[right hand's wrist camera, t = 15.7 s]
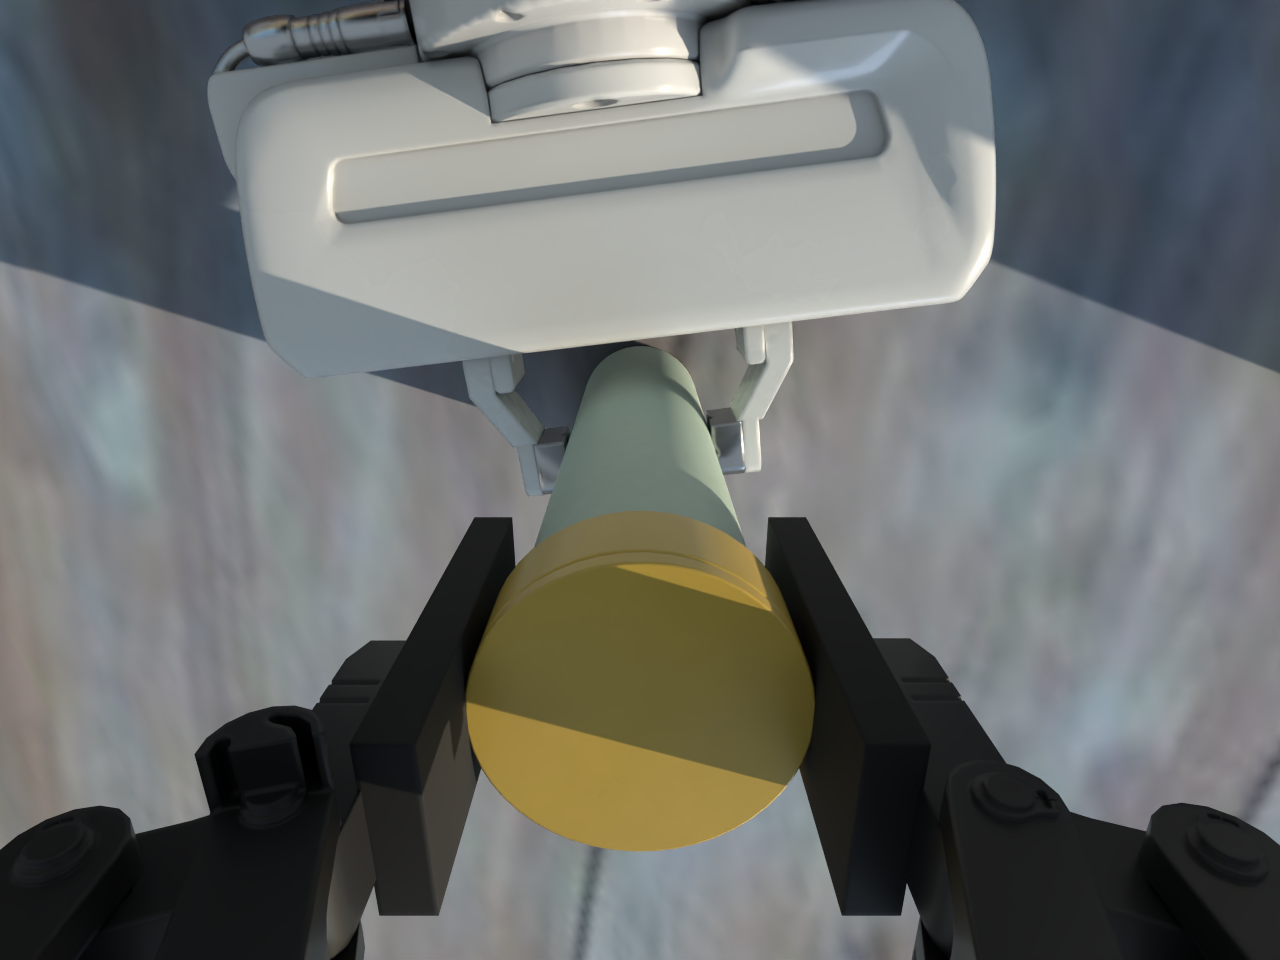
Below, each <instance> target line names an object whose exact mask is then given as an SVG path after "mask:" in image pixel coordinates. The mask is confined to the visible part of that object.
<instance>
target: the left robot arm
mask: <svg viewBox="0 0 1280 960" xmlns="http://www.w3.org/2000/svg"><path fill="white" fill-rule="evenodd" d="M242 37H243V40H240V41H238V42H237V43H235V44H234V45H232V46H231V47H229V48H228V49H227V50H226V51H225V52H224V53H223V55H222V56H221V57H220V59H219V60H218V62H217V64H216V66H215V69H214V72H213V75H212V76H211V77H210V79H209V81H208V87H207V97H208V104H209V109H210V113H211V116H212V119H213V123H214V126H215V130H216V133H217V137H218V140H219V143H220V147H221V150H222V154H223V157H224V160H225V162H226V165H227V167H228V168H229V170H230V172H231V174H232V175H233V177H234V178H235V180H236V184H237V193H238V201H239V209H240V216H241V224H242V231H243V238H244V244H245V250H246V256H247V261H248V267H249V273H250V278H251V282H252V287H253V292H254V297H255V301H256V305H257V310H258V314H259V318H260V322H261V326H262V329H263V333H264V336H265V339H266V341H267V343H268V346H269V347H270V348H271V350H272V351H273V352H274V353H275V354H276V355H278V356H279V357H280V358H281V359H282V360H283V361H284V362H286V363H287V364H288V365H289V366H290V367H291V368H292V369H294V370H295V371H296V372H297V373H299V374H300V375H301V376H303V377H306V378H320V377H329V376H337V375H346V374H354V373H363V372H371V371H379V370H388V369H396V368H405V367H413V366H421V365H430V364H438V363H447V362H455V361H462V365H463V370H464V374H465V379H466V384H467V389H468V394H469V398H470V399H471V400H472V402H473V403H474V404H475V405H476V406H477V407H478V408H479V409H480V411H481V412H482V413H483V414H484V415H485V416H486V417H487V419H488V420H489V421H490V422H491V423H492V424H493V425H494V426H495V428H496V429H497V430H498V431H499V432H500V433H501V434H502V436H503V437H504V438H505V439H506V440H507V441H508V442H509V443H510V445H511V446H512V447H517V450H518V456H519V461H520V466H521V471H522V476H523V482H524V487H525V491H526V493H527V495H528V496H542V495H545V494H552V491H553V488H554V485H555V482H556V479H557V476H558V472H559V469H560V466H561V463H562V460H563V457H564V454H565V451H566V448H567V445H568V442H569V438H570V435H571V434H570V428H569V427H558V428H547V429H544V428H545V427H544V426H543V425H542V423H541V422H540V421H539V419H538V418H537V417H536V416H535V414H534V413H533V412H532V411H531V409H530V408H529V407H528V405H527V404H526V403H525V402H524V400H523V399H522V398H521V396H520V395H519V394H518V393H517V391H516V390H515V389H514V388H515V387H516V386H517V384H518V383H519V382H520V380H521V379H522V378H523V376H524V375H525V369H524V363H523V357H522V353H530V352H539V351H547V350H556V349H564V348H572V347H581V346H589V345H598V344H606V343H614V342H623V341H631V340H640V339H648V338H656V337H665V336H673V335H682V334H690V333H698V332H707V331H715V330H724V329H732V328H735V334H736V345H737V350H738V351H739V353H740V354H741V355H742V357H743V358H744V359H745V361H746V362H747V363H749V366H748V369H747V371H746V373H745V375H744V377H743V379H742V381H741V384H740V386H739V388H738V390H737V392H736V394H735V396H734V399H733V401H732V403H731V405H730V408H723V409H716V410H708V411H706V420H707V427H708V430H709V433H710V436H711V439H712V442H713V446H714V449H715V452H716V455H717V458H718V461H719V464H720V467H721V470H722V473H723V475H729V474H738V473H747V472H757V471H760V470H761V451H760V435H759V419H763V417H764V415H765V413H766V412H767V410H768V408H769V406H770V404H771V402H772V400H773V398H774V396H775V395H776V393H777V391H778V389H779V387H780V385H781V383H782V381H783V379H784V378H785V376H786V374H787V372H788V370H789V368H790V366H791V364H792V362H793V337H792V321H799V320H808V319H816V318H824V317H833V316H841V315H850V314H858V313H866V312H875V311H883V310H892V309H900V308H908V307H917V306H925V305H933V304H942V303H950V302H955V301H957V300H959V299H961V298H962V297H963V296H964V295H965V294H966V293H967V291H968V290H969V289H970V288H971V287H972V285H973V284H974V282H975V281H976V280H977V278H978V277H979V275H980V274H981V272H982V271H983V270H984V268H985V267H986V265H987V264H988V262H989V260H990V258H991V254H992V249H993V242H994V231H995V211H996V153H995V129H994V114H993V100H992V89H991V78H990V70H989V65H988V59H987V55H986V51H985V47H984V44H983V41H982V38H981V36H980V33H979V31H978V29H977V27H976V25H975V23H974V21H973V20H972V18H971V17H970V15H969V14H968V13H967V12H966V11H965V10H964V9H963V8H962V6H961V5H959V4H958V3H957V2H955V1H954V0H382V1H375V2H368V3H360V4H354V5H349V6H345V7H341V8H338V9H335V10H332V11H330V12H329V11H328V12H324V13H321V14H315V15H311V16H303V17H297V18H296V17H295V16H294V15H274V16H268V17H264V18H261V19H257V20H255V21H253V22H250V23H248V24H246V25H245V26H244V27H243V29H242ZM333 56H335V57H333ZM250 57H251V59H252V60H253V61H254V62H255V63H256V64H257V65H258V66H263V67H255V68H248V69H241V70H236V69H237V67H238V66H239V65H240V64H241V63H242V62H244V61H245V60H246V59H248V58H250ZM323 57H327V58H323ZM312 59H313V60H312Z"/></svg>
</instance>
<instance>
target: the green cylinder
mask: <svg viewBox="0 0 1280 960" xmlns="http://www.w3.org/2000/svg"><path fill="white" fill-rule="evenodd" d="M623 511H655V512H665V513H671V514H676V515H680V516H685V517H689V518H692V519H695V520H697V521H700V522H703V523H706V524H709V525H711V526H712V527H714V528H716V529H718V530H720V531H722V532H724V533H726V534H728V535H729V536H731V537H732V538H734V539H735V540H737V541H738V542H739V543H741V544H742V545H744V546H745V547H746V545H745V542H744V539H743V536H742V532H741V529H740V526H739V523H738V520H737V517H736V514H735V511H734V508H733V504H732V501H731V498H730V495H729V492H728V489H727V486H726V483H725V480H724V477H723V473H722V470H721V467H720V464H719V461H718V458H717V455H716V452H715V449H714V446H713V442H712V439H711V436H710V433H709V430H708V427H707V424H706V421H705V418H704V414H703V411H702V408H701V405H700V402H699V399H698V396H697V393H696V390H695V387H694V383H693V381H692V379H691V376H690V375H689V373H688V371H687V370H686V369H685V367H684V366H683V365H682V364H681V363H680V362H679V361H678V360H677V359H676V358H674V357H673V356H672V355H670V354H668V353H667V352H665V351H662V350H660V349H657V348H653V347H647V346H634V347H628V348H624V349H621V350H619V351H616V352H614V353H612V354H611V355H609V356H607V357H606V358H605V359H604V360H603V361H601V362H600V364H599V365H598V366H597V367H596V368H595V370H594V371H593V372H592V374H591V376H590V378H589V380H588V383H587V386H586V389H585V392H584V395H583V398H582V401H581V404H580V408H579V411H578V414H577V417H576V420H575V423H574V426H573V429H572V432H571V435H570V438H569V442H568V445H567V448H566V451H565V454H564V457H563V460H562V463H561V466H560V469H559V472H558V476H557V479H556V482H555V485H554V488H553V491H552V494H551V497H550V500H549V503H548V506H547V509H546V513H545V516H544V519H543V522H542V525H541V528H540V531H539V534H538V537H537V540H536V543H535V547H536V546H537V545H539V544H540V543H541V542H542V541H544V540H545V539H546V538H548V537H550V536H551V535H553V534H555V533H557V532H558V531H560V530H562V529H564V528H565V527H568V526H570V525H573V524H575V523H578V522H580V521H582V520H585V519H589V518H592V517H596V516H600V515H604V514H609V513H616V512H623ZM535 547H534V548H535Z"/></svg>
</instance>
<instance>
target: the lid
mask: <svg viewBox="0 0 1280 960" xmlns="http://www.w3.org/2000/svg"><path fill="white" fill-rule="evenodd" d="M465 702H466V713H467V723H468V732H469V739H470V742H471V746H472V749H473V752H474V754H475V756H476V758H477V760H478V762H479V765H480V767H481V768H482V770H483V771H484V773H485V774H486V776H487V778H488V779H489V781H490V782H491V784H492V785H493V786H494V787H495V788H496V789H497V790H498V792H499V793H500V794H501V795H502V796H503V797H504V798H505V799H506V800H507V801H508V802H509V803H510V804H511V805H512V806H514V807H515V808H516V809H517V810H518V811H519V812H521V813H522V814H524V815H525V816H526V817H528V818H529V819H531V820H532V821H534V822H535V823H537V824H539V825H540V826H542V827H544V828H546V829H548V830H550V831H552V832H554V833H556V834H558V835H561V836H563V837H566V838H568V839H571V840H574V841H577V842H580V843H584V844H587V845H591V846H596V847H601V848H606V849H612V850H623V851H658V850H667V849H675V848H680V847H685V846H689V845H694V844H697V843H700V842H703V841H706V840H710V839H713V838H716V837H718V836H720V835H722V834H724V833H727V832H729V831H731V830H733V829H735V828H737V827H738V826H740V825H742V824H744V823H745V822H747V821H749V820H750V819H752V818H753V817H754V816H756V815H757V814H758V813H760V812H761V811H762V810H764V809H765V808H766V807H767V806H769V805H770V804H771V803H772V802H773V801H774V800H775V799H776V798H777V797H778V796H779V795H780V794H781V793H782V791H783V790H784V789H785V788H786V786H787V785H788V784H789V783H790V781H791V780H792V779H793V777H794V776H795V774H796V772H797V771H798V769H799V767H800V765H801V764H802V762H803V760H804V757H805V755H806V752H807V750H808V747H809V745H810V741H811V736H812V728H813V719H814V709H815V687H814V683H813V679H812V675H811V670H810V667H809V664H808V661H807V659H806V656H805V654H804V651H803V648H802V646H801V643H800V640H799V638H798V635H797V632H796V630H795V627H794V624H793V622H792V619H791V616H790V614H789V611H788V608H787V606H786V603H785V601H784V598H783V596H782V594H781V591H780V589H779V587H778V586H777V584H776V582H775V581H774V579H773V577H772V576H771V574H770V572H769V571H768V570H767V569H766V568H765V566H764V565H763V564H762V563H761V562H760V560H759V559H758V558H757V557H756V556H755V555H754V554H752V553H751V552H750V551H749V550H748V549H747V548H746V547H745V546H744V545H742V544H741V543H739V542H738V541H737V540H735V539H734V538H732V537H731V536H729V535H728V534H726V533H724V532H722V531H720V530H718V529H716V528H714V527H712V526H711V525H709V524H706V523H703V522H700V521H697V520H695V519H692V518H689V517H685V516H680V515H676V514H671V513H665V512H655V511H623V512H616V513H609V514H604V515H600V516H596V517H592V518H589V519H585V520H582V521H580V522H578V523H575V524H573V525H570V526H568V527H565V528H564V529H562V530H560V531H558V532H557V533H555V534H553V535H551V536H550V537H548V538H546V539H545V540H544V541H542V542H541V543H540V544H539V545H537V546H536V547H535V548H533V549H532V550H531V551H530V552H529V553H528V554H527V555H526V556H525V557H524V558H523V559H522V560H521V561H520V562H519V563H518V564H517V566H516V567H515V568H514V570H513V571H512V572H511V574H510V575H509V576H508V578H507V579H506V581H505V583H504V585H503V587H502V589H501V590H500V592H499V594H498V597H497V600H496V602H495V605H494V607H493V610H492V613H491V615H490V618H489V621H488V623H487V626H486V628H485V631H484V634H483V636H482V639H481V642H480V644H479V647H478V650H477V652H476V655H475V658H474V660H473V663H472V666H471V669H470V672H469V675H468V680H467V685H466V691H465Z"/></svg>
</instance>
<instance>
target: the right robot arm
mask: <svg viewBox="0 0 1280 960" xmlns="http://www.w3.org/2000/svg"><path fill="white" fill-rule="evenodd" d="M514 568H515V553H514V538H513V524H512V517H475V518H474V519H473V521H472V523H471V525H470V527H469V528H468V530H467V532H466V534H465V536H464V538H463V539H462V541H461V543H460V545H459V547H458V548H457V550H456V552H455V554H454V556H453V557H452V559H451V561H450V563H449V565H448V566H447V568H446V570H445V572H444V574H443V575H442V577H441V579H440V581H439V583H438V584H437V586H436V588H435V590H434V592H433V594H432V595H431V597H430V599H429V601H428V603H427V604H426V606H425V608H424V610H423V612H422V613H421V615H420V617H419V619H418V621H417V622H416V624H415V626H414V628H413V630H412V631H411V633H410V635H409V637H408V639H407V640H406V641H370V642H369V643H367V644H366V645H365V646H363V647H362V648H360V649H359V650H358V651H356V652H355V653H354V654H352V655H351V656H350V657H348V658H347V659H346V660H345V662H344V663H343V665H342V666H341V668H340V669H339V671H338V672H337V674H336V675H335V677H334V678H333V680H332V684H331V685H329V686H328V687H327V689H326V690H325V692H324V693H323V695H322V696H321V698H320V702H319V703H317V704H316V705H315V707H314V708H313V710H310V709H306V708H302V707H298V706H274V707H269V708H265V709H261V710H258V711H254V712H250V713H247V714H245V715H243V716H241V717H239V718H237V719H235V720H232V721H230V722H228V723H226V724H225V725H223V726H222V727H221V728H219V729H218V730H217V731H215V732H214V733H213V734H211V735H210V736H209V737H207V738H206V740H205V741H204V742H203V744H202V745H201V746H200V748H199V749H198V750H197V752H196V753H195V758H196V761H197V765H198V769H199V772H200V776H201V780H202V783H203V787H204V791H205V794H206V798H207V802H208V805H209V809H210V815H208V816H205V817H202V818H199V819H195V820H192V821H188V822H184V823H180V824H176V825H172V826H168V827H163V828H159V829H155V830H151V831H147V832H142V833H138V834H135V832H134V829H133V826H132V823H131V820H130V818H129V817H128V816H127V815H126V814H125V813H123V812H122V811H121V810H120V809H118V808H112V807H105V806H94V807H88V808H81V809H74V810H72V811H69V812H66V813H63V814H61V815H58V816H55V817H52V818H50V819H47V820H45V821H43V822H41V823H39V824H38V825H36V826H34V827H32V828H30V829H29V830H27V831H25V832H23V833H22V834H20V835H18V836H17V837H15V838H14V839H13V840H12V841H11V842H9V843H8V844H7V845H6V846H4V847H3V848H2V849H1V850H0V960H364V950H365V944H364V937H363V930H362V924H361V916H362V914H363V911H364V909H365V906H366V904H367V901H368V899H369V896H370V894H371V891H372V889H373V886H374V887H375V893H376V899H377V904H378V910H379V915H380V916H439V912H440V909H441V905H442V902H443V898H444V895H445V891H446V888H447V884H448V881H449V877H450V874H451V871H452V867H453V864H454V860H455V857H456V853H457V850H458V846H459V843H460V839H461V836H462V832H463V829H464V826H465V822H466V819H467V815H468V812H469V808H470V805H471V801H472V798H473V794H474V791H475V788H476V784H477V781H478V777H479V774H480V770H481V767H480V765H479V762H478V760H477V758H476V756H475V754H474V752H473V749H472V746H471V742H470V739H469V732H468V723H467V713H466V702H465V691H466V685H467V680H468V675H469V672H470V669H471V666H472V663H473V660H474V658H475V655H476V652H477V650H478V647H479V644H480V642H481V639H482V636H483V634H484V631H485V628H486V626H487V623H488V621H489V618H490V615H491V613H492V610H493V607H494V605H495V602H496V600H497V597H498V594H499V592H500V590H501V589H502V587H503V585H504V583H505V581H506V579H507V578H508V576H509V575H510V574H511V572H512V571H513V570H514ZM765 568H766V569H767V570H768V571H769V572H770V574H771V576H772V577H773V579H774V581H775V582H776V584H777V586H778V587H779V589H780V591H781V594H782V596H783V598H784V601H785V603H786V606H787V608H788V611H789V614H790V616H791V619H792V622H793V624H794V627H795V630H796V632H797V635H798V638H799V640H800V643H801V646H802V648H803V651H804V654H805V656H806V659H807V661H808V664H809V667H810V670H811V675H812V679H813V683H814V687H815V709H814V719H813V728H812V736H811V741H810V745H809V747H808V750H807V752H806V755H805V757H804V760H803V762H802V764H801V765H800V767H799V769H800V772H801V776H802V779H803V783H804V786H805V789H806V793H807V796H808V800H809V803H810V807H811V810H812V814H813V817H814V821H815V824H816V828H817V831H818V834H819V838H820V841H821V845H822V848H823V852H824V855H825V859H826V862H827V866H828V869H829V873H830V876H831V879H832V883H833V886H834V890H835V893H836V897H837V900H838V904H839V907H840V911H841V914H842V916H901V912H902V907H903V901H904V895H905V890H906V884H908V887H909V889H910V892H911V894H912V897H913V899H914V902H915V904H916V907H917V909H918V912H919V914H920V919H919V924H918V930H917V935H916V940H915V945H914V951H913V956H912V960H1280V845H1279V844H1277V843H1276V842H1275V841H1274V840H1272V839H1271V838H1270V837H1269V836H1268V835H1266V834H1265V833H1264V832H1262V831H1260V830H1258V829H1257V828H1255V827H1253V826H1251V825H1249V824H1248V823H1246V822H1244V821H1242V820H1240V819H1239V818H1237V817H1235V816H1232V815H1229V814H1226V813H1224V812H1221V811H1218V810H1215V809H1212V808H1210V807H1206V806H1200V805H1193V804H1186V803H1177V804H1171V805H1164V806H1162V807H1160V808H1159V809H1158V810H1157V811H1156V812H1155V813H1154V814H1153V815H1152V816H1151V819H1150V822H1149V825H1148V828H1147V831H1142V830H1138V829H1134V828H1129V827H1125V826H1121V825H1117V824H1113V823H1108V822H1104V821H1100V820H1096V819H1092V818H1088V817H1085V816H1082V815H1079V814H1075V813H1072V812H1070V811H1069V810H1068V808H1067V807H1066V805H1065V804H1064V802H1063V800H1062V799H1061V797H1060V796H1059V794H1058V793H1056V792H1055V791H1054V790H1053V789H1052V788H1051V787H1049V786H1048V785H1047V784H1046V783H1045V782H1044V781H1042V780H1041V779H1040V778H1038V777H1036V776H1034V775H1032V774H1030V773H1028V772H1027V771H1025V770H1023V769H1021V768H1019V767H1016V766H1013V765H1009V764H1006V762H1005V761H1004V759H1003V758H1002V756H1001V755H1000V753H999V752H998V750H997V749H996V747H995V746H994V744H993V743H992V741H991V740H990V738H989V737H988V736H987V734H986V733H985V731H984V730H983V728H982V727H981V725H980V724H979V722H978V721H977V719H976V718H975V716H974V715H973V713H972V712H971V710H970V709H969V707H968V706H967V704H966V703H965V701H962V700H961V695H960V694H959V692H958V691H957V689H956V688H955V686H954V685H953V683H950V682H949V677H948V676H947V674H946V673H945V671H944V670H943V669H942V667H941V666H940V664H939V663H938V661H937V660H936V658H935V657H934V656H933V655H931V654H930V653H929V652H927V651H926V650H925V649H923V648H922V647H921V646H919V645H918V644H917V643H915V642H914V641H912V640H911V639H910V638H872V636H871V634H870V632H869V631H868V629H867V627H866V625H865V623H864V622H863V620H862V618H861V616H860V614H859V613H858V611H857V609H856V607H855V605H854V604H853V602H852V600H851V598H850V596H849V594H848V593H847V591H846V589H845V587H844V585H843V584H842V582H841V580H840V578H839V576H838V575H837V573H836V571H835V569H834V567H833V566H832V564H831V562H830V560H829V558H828V557H827V555H826V553H825V551H824V549H823V548H822V546H821V544H820V542H819V540H818V539H817V537H816V535H815V533H814V531H813V529H812V528H811V526H810V524H809V522H808V520H807V519H806V517H768V530H767V545H766V559H765Z"/></svg>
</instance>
